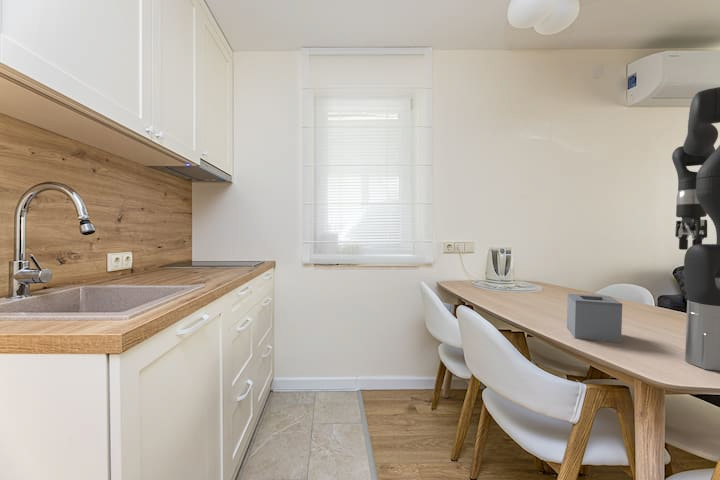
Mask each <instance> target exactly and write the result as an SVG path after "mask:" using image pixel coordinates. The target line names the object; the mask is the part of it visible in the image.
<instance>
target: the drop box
mask: <svg viewBox="0 0 720 480" xmlns="http://www.w3.org/2000/svg"><path fill="white" fill-rule="evenodd" d="M566 303H567V306H566V307H567V309H566V311H567V313H566V328H567V330H568V331H569V332H570V334H571V335H572V337H573V338H574V339H580V340H591V341H598V342H599V341H600V342H608V343H619V344H622V331H623V330H622V329H623V327H622V326H623V322H622V321H623V303H622V302H620V300H619V301H618V300H617V299H615V298H614V297H611V296H609V295H599V294H598V295H595V294H583V293H582V294H579V293H567V302H566Z"/></svg>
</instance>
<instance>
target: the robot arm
mask: <svg viewBox="0 0 720 480" xmlns="http://www.w3.org/2000/svg"><path fill="white" fill-rule="evenodd" d="M714 124H720V86H718V87H713V88H707V89H704V90H700V91H698V92H697V93H695V94H694V96H693V98H692V99H691V103H690V106H689V112H688V120H687V135H686V137H685V140H684V142H683V146H678V147H677V148H675V149H674V150H673V152H672V155H671V160H672V162H673V166H674V167H675V171H676V175H677V180H678V181H677V182H678V183H677V186H678V187H677V195H676V203H675V204H676V210H675V211H676V212H675V217H677V218H681V220H676V222H675V238H677V239H678V250H681V251H682V250H683V251H684V250H685V251H686V252H685V254H684V259H683V260H684V261H683V269H684V270H683V272H684V289H685V292H686V294H687V295H686V296H687V300H686V301H687V303H686V324H685V325H686V326H685V327H686V329H685V350H684V351H685V352H684V353H685V354H684V355H685V356H684V360H685V362H686V363H688V364H691V365H693V366H696V367H699V368H702V369H703V370H710V371H717V372H720V287H718V286H717V283H716V281H717V280H716V279H720V144H719V145H718V147H717V148H715V144H716V142H717V140H718V137H719V130H718V129H717V127H716V126H715V125H714ZM695 166H696V167H697V166H700V167H699V169H698V170H697V171H693V170H692V171H691V170H689V168H687V167H695ZM707 216H709V218H710V220H711V221H712V223H713V225H714V228H715V233H716V234H715V235H716V243H703V240H704V239H707V238H708V220H707V219H701V218H705V217H707ZM690 236H691V239H692V242H691V246H689V239H688V238H689V237H690Z"/></svg>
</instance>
